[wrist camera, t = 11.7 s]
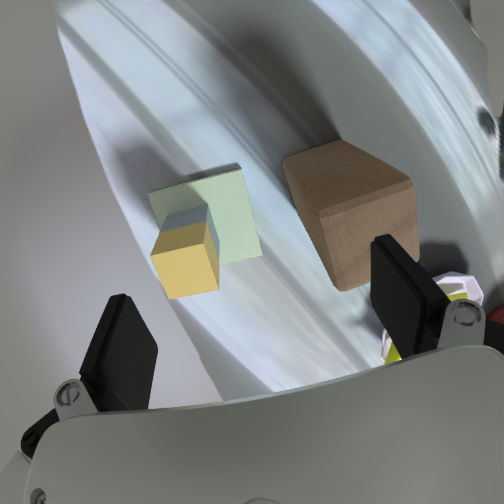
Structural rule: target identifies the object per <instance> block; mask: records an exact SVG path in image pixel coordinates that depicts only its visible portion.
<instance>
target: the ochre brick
mask: <svg viewBox="0 0 504 504" xmlns="http://www.w3.org/2000/svg"><path fill="white" fill-rule="evenodd" d="M150 257H151V259H152V262H153V264H154V266H155V269H156V271H157V273H158V276H159V278H160V280H161V282H162V285H163V287H164V289H165V291H166V294H167V296H168V298H169V299H174V298H179V297H184V296H189V295H194V294H199V293H204V292H209V291H214V290H219V265H220V263H219V260H218V257H217V253H216V250H215V247H214V244H213V240H212V237H211V234H210V231H209V227H208V224H207V221H205V222H201V223H196V224H192V225H188V226H184V227H180V228H176V229H172V230H168V231H164V232H160V233H159V236H158V238H157V240H156V243H155V245H154V248H153V250H152V253H151V255H150Z"/></svg>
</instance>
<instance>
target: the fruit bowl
mask: <svg viewBox="0 0 504 504" xmlns="http://www.w3.org/2000/svg"><path fill="white" fill-rule="evenodd" d="M432 279H433V280H434V281H435V282H436V284H437V285H438V286H439V287H440V288H441V289H442V291H443V292H444V293H445V294H446V295H447V297H448V298H449V299H450V300H451V302H452V301H454V300H456V299H469V300H473V301H475V302H476V303H478V304H479V305H480V306H481V303H482V300H483V296H484V295H483V293H482V291H481V289H480V287H479V285H478V283H477V281H476V280H475V278H474V276H470V275H466V274H461V273H457V272H452V271H450V272H447V273H445V274H442V275H439V276H436V277H433V278H432ZM381 360H382V361H384V362H385V364H388V363H392V362H395V361H398V360H401V357H400V355H399V353H398V351H397V349H396V348H395V346H394V344H393V342H392V340H391V338H390V336H389V335H388V333H387V331H386V329H385V328H384V330H383V333H382V353H381Z"/></svg>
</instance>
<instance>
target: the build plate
mask: <svg viewBox="0 0 504 504" xmlns="http://www.w3.org/2000/svg"><path fill="white" fill-rule="evenodd" d="M148 198H149V201H150V204H151V206H152V209H153V212H154V215H155V217H156V220H157V223H158V225H159V228H160V230H161V228H162V225H163V223H164V221H165V218H166V216H167V215H170V214H173V213H177V212H181V211H185V210H188V209H192V208H196V207H200V206H204V205H209V208H210V212H211V215H212V218H213V222H214V225H215V228H216V231H217V235H218V238H219V241H220V254H219V263H220V265H221V264H225V263H230V262H234V261H239V260H243V259H247V258H252V257H256V256H261V255H262V251H261V247H260V243H259V239H258V234H257V230H256V226H255V222H254V218H253V214H252V209H251V205H250V201H249V197H248V193H247V189H246V185H245V180H244V176H243V172H242V168H240V169H236V170H232V171H227V172H223V173H219V174H215V175H211V176H208V177H204V178H200V179H196V180H192V181H189V182H185V183H181V184H178V185H174V186H171V187H167V188H164V189H160V190H157V191H154V192H150V193H149V194H148Z"/></svg>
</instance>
